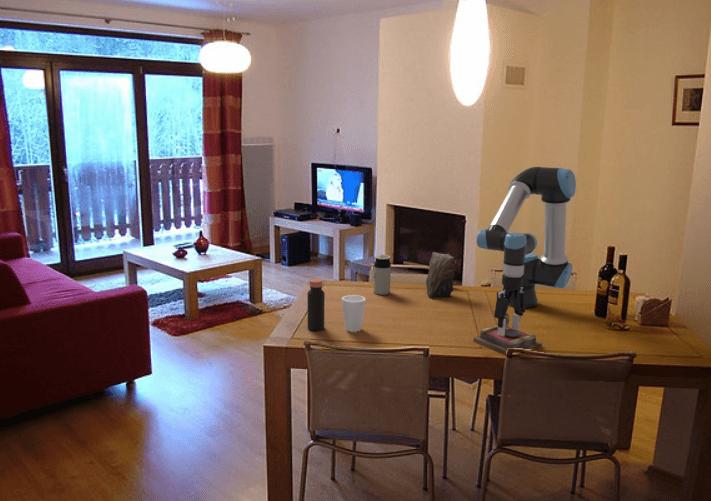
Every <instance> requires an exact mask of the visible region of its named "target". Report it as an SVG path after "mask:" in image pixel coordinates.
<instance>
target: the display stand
mask: <svg viewBox="0 0 711 501" xmlns="http://www.w3.org/2000/svg"><path fill="white" fill-rule="evenodd" d="M506 329H512V327H510V326H509V325H508V326H507V328H506ZM519 332H520V335H519V336H517V337H510V336H506V335H505V336H501V335H498V324H497V325H494V326H491V327H487V328H483V329H480V332H479V335H477V336H474V337H473V338H472V339H473V340H472V342H474V343H477V344H479V345H481V346H483V347H485V348H488V349H490V350H493V351H495V352H497V353H499V354H501V355H504V356H506V351H507V348H523V349H534V350H537V349H539V348H538V347H540V348H542V347H543V342H541V341H538V340H537V334H535V333H532V334H528V333H525V332H523V331H520V330H519ZM541 346H542V347H541Z"/></svg>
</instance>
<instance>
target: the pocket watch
mask: <svg viewBox="0 0 711 501" xmlns="http://www.w3.org/2000/svg"><path fill="white" fill-rule="evenodd" d="M504 319H506V324H505V335H506V336H510V337H517V336H519V335H520V332H519V331H520V330H519V331H518V330H514V329H506V328H507V326H508V327H509V323H510V315H509V313H508V312H506V315H505V318H504Z"/></svg>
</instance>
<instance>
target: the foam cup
mask: <svg viewBox="0 0 711 501" xmlns="http://www.w3.org/2000/svg"><path fill="white" fill-rule="evenodd" d="M366 301H367V300H366V297H364V296H362V295H358V294H349V295H344V296H342V297H341V306H342V314H343V321H344V328H345V329H346V330H347V331H346V330H345V331H346V332H348V331H351V332H350V333H358V332H357V331H359V332H360V330H361V331H362V327H363V319H364V314H365V308H366V307H365V306H366Z"/></svg>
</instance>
